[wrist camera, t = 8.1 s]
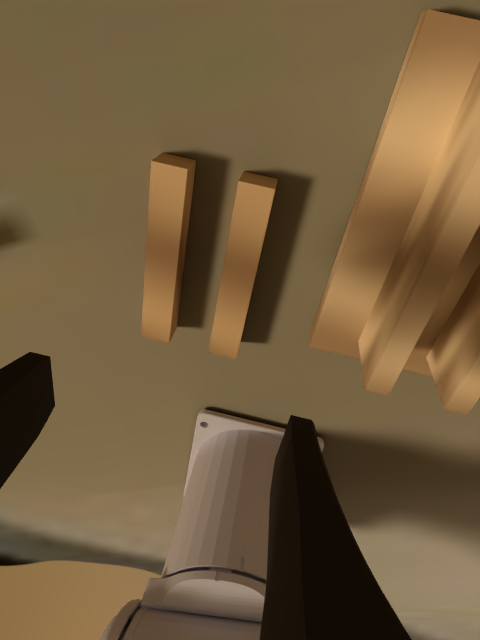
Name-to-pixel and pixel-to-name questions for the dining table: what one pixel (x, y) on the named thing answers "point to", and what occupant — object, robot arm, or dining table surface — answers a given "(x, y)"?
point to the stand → (170, 247)
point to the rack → (417, 228)
